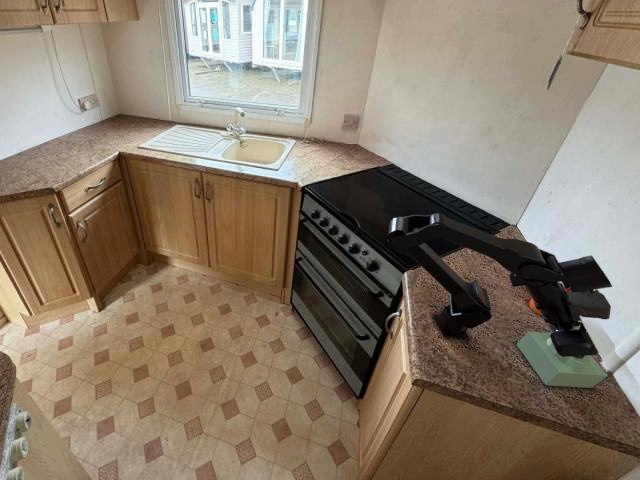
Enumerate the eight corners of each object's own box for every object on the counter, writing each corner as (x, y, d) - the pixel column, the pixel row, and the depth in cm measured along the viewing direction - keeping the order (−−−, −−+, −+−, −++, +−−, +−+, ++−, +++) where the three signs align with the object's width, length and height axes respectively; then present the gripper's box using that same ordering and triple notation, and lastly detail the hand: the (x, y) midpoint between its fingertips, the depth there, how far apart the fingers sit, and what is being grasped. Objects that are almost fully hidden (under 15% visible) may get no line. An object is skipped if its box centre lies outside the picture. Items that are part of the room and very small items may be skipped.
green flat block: (545, 385, 72) (565, 368, 68) (516, 344, 80) (531, 327, 76) (591, 388, 72) (613, 371, 68) (557, 346, 80) (575, 329, 76)
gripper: (618, 321, 56) (651, 379, 59) (576, 256, 71) (605, 305, 73) (542, 328, 63) (574, 381, 65) (518, 268, 78) (546, 313, 80)
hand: (576, 342), depth 71 cm, fingers closed
